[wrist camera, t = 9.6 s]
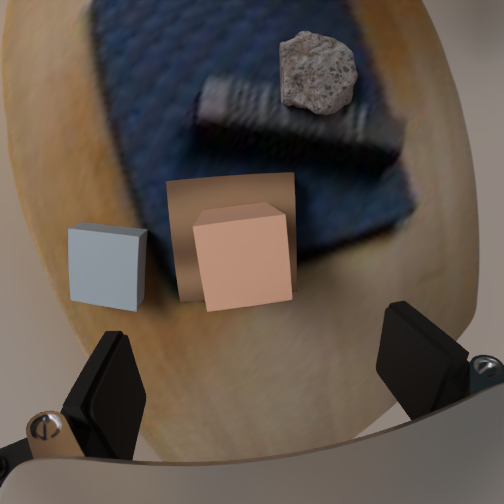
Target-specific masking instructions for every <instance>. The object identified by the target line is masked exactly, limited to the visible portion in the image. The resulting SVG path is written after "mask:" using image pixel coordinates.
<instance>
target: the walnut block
mask: <svg viewBox="0 0 504 504" xmlns="http://www.w3.org/2000/svg"><path fill="white" fill-rule="evenodd" d="M166 186H167V198H168V208H169V219H170V228H171V237H172V246H173V254H174V262H175V269H176V276H177V284H178V290H179V297H180V302H184V301H198V300H205V297H204V291H203V286H202V280H201V275H200V269H199V263H198V257H197V251H196V244H195V238H194V232H193V225H194V223H195V222H196V220H197V218H198V217H199V215H200V213H201V212H202V211H204V210H211V209H218V208H225V207H233V206H241V205H249V204H257V203H265V202H266V203H268V204H269V205H271V206H272V207H274V208H276V209H277V210H279V211H281V212H282V213H284V214H285V215H286V226H287V237H288V249H289V261H290V273H291V286H292V292H297V250H296V211H295V185H294V173H266V174H247V175H232V176H218V177H206V178H195V179H184V180H174V181H167V182H166Z"/></svg>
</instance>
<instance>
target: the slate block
mask: <svg viewBox="0 0 504 504" xmlns="http://www.w3.org/2000/svg"><path fill="white" fill-rule="evenodd" d="M147 231H148V230H147V229H138V228H129V227H121V226H112V225H103V224H94V223H85V222H82V223H80V224H78V225H75V226H73V227H70V228H68V257H69V282H70V296H71V300H73V301H78V302H84V303H89V304H94V305H100V306H105V307H111V308H117V309H123V310H129V311H136V312H137V310H138V308H139V306H140V305H141V303H142V301H143V299H144V290H145V263H146V245H147Z"/></svg>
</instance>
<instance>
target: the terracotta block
mask: <svg viewBox="0 0 504 504" xmlns="http://www.w3.org/2000/svg"><path fill="white" fill-rule="evenodd" d="M193 232H194V238H195V244H196V251H197V257H198V263H199V269H200V275H201V280H202V286H203V291H204V297H205V302H206V308H207V312H209V311H217V310H225V309H232V308H240V307H247V306H254V305H261V304H267V303H274V302H280V301H287V300H292V286H291V273H290V261H289V249H288V237H287V226H286V215H285V214H284V213H282V212H281V211H279V210H277V209H276V208H274V207H272V206H271V205H269V204H268V203H266V202H265V203H257V204H249V205H241V206H233V207H225V208H218V209H211V210H204V211H202V212H201V213H200V215H199V217H198V218H197V220H196V222H195V223H194V225H193Z"/></svg>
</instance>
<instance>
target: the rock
mask: <svg viewBox="0 0 504 504" xmlns="http://www.w3.org/2000/svg"><path fill="white" fill-rule="evenodd" d="M279 54H280V81H281V84H280V85H281V103H282V104H284V105H287V106H291V105H294V106H296V107H298V108H306V109H308V110H311V111H312V112H313V113H315V114H323V115H330V114H334V113H336V112H337V111H338V110H339V109H341V108H342V107H343V106H345V105H348V104H349V103H350V102H351V101H352V98H353V96H352V95H353V86H354V84H355V82H356V80H357V78H358V73H357V71H356V64H355V62H354V54H353V52H352V51H351V50H350V49H348V47H347V46H346V45H345V44H344V43H342V42H340V41H337V40H336V39H334V38H330V37H327V36H326V37H325V36H322V35H320V34H312V33H311V32H310V31H302V32H300V33H298V34H297V35H296V36H295V38H293V39H291V40H288V41H286V42H281V43H280V49H279Z"/></svg>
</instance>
